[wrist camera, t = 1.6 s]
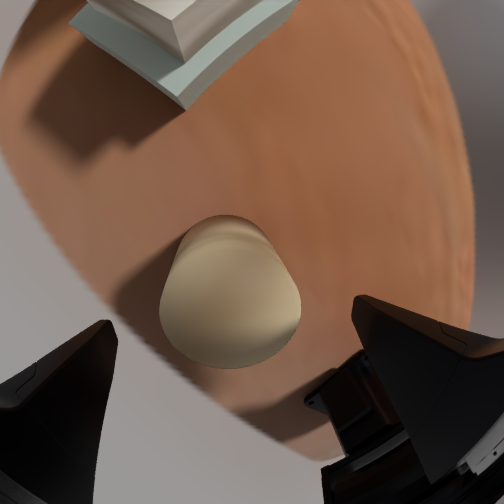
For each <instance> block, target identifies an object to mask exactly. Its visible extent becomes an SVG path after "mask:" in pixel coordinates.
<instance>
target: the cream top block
mask: <svg viewBox="0 0 504 504" xmlns="http://www.w3.org/2000/svg"><path fill="white" fill-rule="evenodd" d="M262 1H263V0H87V2H88V3H89V4H90V5H91V6H92V7H93V8H94V9H95V10H96V11H98V12H100V13H102V14H104V15H106V16H108V17H110V18H112V19H114V20H116V21H118V22H119V23H121V24H123V25H125V26H127V27H128V28H130V29H132V30H134V31H135V32H137V33H139V34H140V35H142V36H144V37H145V38H147V39H149V40H150V41H152V42H154V43H155V44H157V45H158V46H160V47H161V48H163V49H164V50H166V51H168V52H169V53H171V54H172V55H174V56H175V57H176V58H178V59H179V60H181V61H182V62H184V63H186V62H187V61H188V60H190V59H191V58H192V57H193V56H194V55H195V54H196V53H197V52H198V51H199V50H200V49H201V48H203V47H204V46H205V45H206V44H207V43H208V42H209V41H210V40H212V39H213V38H214V37H215V36H216V35H218V34H219V33H220V32H221V31H222V30H224V29H225V28H226V27H227V26H229V25H230V24H231V23H232V22H234V21H235V20H236V19H238V18H239V17H240V16H242V15H243V14H244V13H246V12H247V11H249V10H250V9H251V8H253V7H254V6H256V5H257V4H259V3H260V2H262Z"/></svg>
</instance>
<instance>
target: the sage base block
mask: <svg viewBox="0 0 504 504" xmlns="http://www.w3.org/2000/svg"><path fill="white" fill-rule="evenodd" d="M298 2H299V0H263V1H262V2H260V3H259V4H257V5H256V6H254V7H253V8H251V9H250V10H249V11H247V12H246V13H244V14H243V15H242V16H240V17H239V18H238V19H236V20H235V21H234V22H232V23H231V24H230V25H229V26H227V27H226V28H225V29H224V30H222V31H221V32H220V33H219V34H218V35H216V36H215V37H214V38H213V39H212V40H210V41H209V42H208V43H207V44H206V45H205V46H204V47H203V48H201V49H200V50H199V51H198V52H197V53H196V54H195V55H194V56H193V57H192V58H191V59H190V60H188V61H187V62H186V63H184V62H182V61H181V60H179V59H178V58H176V57H175V56H174V55H172V54H171V53H169V52H168V51H166V50H164V49H163V48H161V47H160V46H158V45H157V44H155V43H154V42H152V41H150V40H149V39H147V38H145V37H144V36H142V35H140V34H139V33H137V32H135V31H134V30H132V29H130V28H128V27H127V26H125V25H123V24H121V23H119V22H118V21H116V20H114V19H112V18H110V17H108V16H106V15H104V14H102V13H100V12H98V11H96V10H95V9H94V8H93V7H92V6H91V5H90V4H89V3H87V4H86V5H85V6H84V7H83V8H82V9H81V10H80V11H79V12H78V13H77V14H76V15H75V16H74V17H73V18H72V19H71V21H70V22H69V23H68V24H70V25H71V26H72V27H74V28H75V29H76V30H77V31H79V32H80V33H81V34H82V35H84V36H85V37H86V38H87V39H88V40H90V41H91V42H92V43H93V44H95V45H96V46H98V47H99V48H101V49H102V50H104V51H105V52H107V53H108V54H110V55H111V56H113V57H114V58H116V59H117V60H119V61H120V62H122V63H123V64H125V65H126V66H127V67H129V68H130V69H132V70H133V71H135V72H136V73H137V74H139V75H140V76H141V77H143V78H144V79H146V80H147V81H148V82H150V83H151V84H152V85H154V86H155V87H156V88H158V89H159V90H160V91H162V92H163V93H164V94H166V95H167V96H168V97H170V98H171V99H172V100H173V101H175V102H176V103H177V104H179V105H180V106H181V107H182V108H184V109H185V110H187V109H188V108H189V107H190V106H191V105H192V104H193V103H194V102H195V101H196V100H197V99H198V98H199V97H200V96H201V95H202V94H203V93H204V92H205V91H206V90H207V89H208V88H209V87H210V86H211V85H212V84H213V83H214V82H215V81H216V80H217V79H218V78H219V77H220V76H221V75H222V74H223V73H224V72H226V71H227V70H228V69H229V68H230V67H231V66H232V65H233V64H234V63H236V62H237V61H238V60H239V59H240V58H241V57H242V56H244V55H245V54H246V53H247V52H248V51H250V50H251V49H252V48H253V47H254V46H256V45H257V44H258V43H259V42H261V41H262V40H263V39H264V38H266V37H267V36H268V35H270V34H271V33H272V32H274V31H275V30H276V29H278V28H279V27H280V26H282V25H283V24H284V23H286V21H287V19H288V18H289V16H290V14H291V13H292V11H293V10H294V8H295V7H296V5H297V3H298Z"/></svg>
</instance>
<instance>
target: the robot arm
mask: <svg viewBox="0 0 504 504" xmlns="http://www.w3.org/2000/svg"><path fill="white" fill-rule="evenodd" d="M351 318H352V322H353V324H354V326H355V329H356V331H357V333H358V336H359V338H360V341H361V343H362V346H363V348H364V350H363V351H362V352H361V353H360V354H358V355H357V356H356V357H355V358H354V359H353V360H352V361H351V362H349V363H348V364H347V365H346V366H345V367H344V368H342V369H341V370H340V371H339V372H338V373H336V374H335V375H334V376H333V377H332V378H330V379H329V380H328V381H327V382H325V383H324V384H323V385H322V386H320V387H319V388H318V389H316V390H315V391H314V392H313V393H311V394H310V395H309V396H307V397H306V398H305V399H304V403H305V406H307V407H309V408H312V409H315V410H317V411H320V412H322V413H325V414H328V416H329V418H330V421H331V423H332V426H333V428H334V430H335V433H336V435H337V438H338V440H339V442H340V445H341V447H342V450H343V452H344V454H345V458H343V459H341V460H340V461H337V462H336V463H334V464H332V465H327V466H325V467H323V468H321V474H322V488H323V497H324V504H504V338H502V339H497V338H491V337H488V336H485V335H481V334H477V333H474V332H470V331H467V330H464V329H460V328H457V327H454V326H451V325H448V324H445V323H443V322H440V321H439V322H438V321H437V320H434V319H431V318H429V317H426V316H423V315H420V314H418V313H415V312H412V311H409V310H406V309H404V308H401V307H398V306H395V305H393V304H390V303H387V302H384V301H382V300H379V299H376V298H373V297H371V296H368V295H358V296H356V297H355V298H354V301H353V307H352V314H351ZM117 346H118V338H117V335H116V333H115V330H114V327H113V324H112V322H111V321H110V320H99V321H98V322H96V323H94V324H93V325H91V326H90V327H88V328H87V329H85V330H84V331H82V332H80V333H79V334H77V335H76V336H74V337H73V338H71V339H70V340H68V341H67V342H65V343H64V344H62V345H61V346H59V347H58V348H56V349H55V350H53V351H52V352H50V353H48V354H47V355H45V356H44V357H42V358H41V359H40V360H38V361H37V362H35V363H33V364H32V365H31V366H29V367H28V368H26V369H24V370H23V371H21V372H20V373H18V374H16V375H15V376H13V377H12V378H10V379H8V380H6V381H5V382H3V383H1V384H0V504H93V492H94V481H95V476H94V475H95V471H96V463H97V456H98V449H99V443H100V437H101V431H102V425H103V420H104V415H105V410H106V405H107V401H108V397H109V392H110V388H111V384H112V379H113V374H114V367H115V360H116V353H117Z"/></svg>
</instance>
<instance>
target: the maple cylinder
mask: <svg viewBox="0 0 504 504" xmlns="http://www.w3.org/2000/svg"><path fill="white" fill-rule="evenodd" d="M300 314H301V301H300V295H299V292H298V289H297V287H296V285H295V283H294V281H293V279H292V278H291V276H290V274H289V273H288V271H287V269H286V268H285V266H284V264H283V263H282V261H281V259H280V258H279V256H278V254H277V253H276V251H275V249H274V248H273V246H272V244H271V243H270V241H269V239H268V238H267V236H266V235H265V234H264V232H263V231H262V230H261V229H260V228H259V227H258V226H257V225H255V224H254V223H252V222H251V221H249V220H247V219H244V218H242V217H238V216H233V215H218V216H213V217H210V218H207V219H204V220H202V221H200V222H199V223H197V224H196V225H194V226H193V227H192V228H191V229H190V230H189V231H188V232H187V233H186V234H185V236H184V237H183V239H182V241H181V243H180V245H179V247H178V250H177V253H176V256H175V258H174V261H173V264H172V267H171V269H170V272H169V275H168V278H167V281H166V284H165V287H164V290H163V293H162V296H161V299H160V306H159V316H160V322H161V326H162V328H163V331H164V333H165V335H166V337H167V338H168V340H169V341H170V343H171V344H172V345H173V346H174V347H175V348H176V349H177V350H178V351H179V352H180V353H181V354H183V355H184V356H186V357H187V358H189V359H190V360H192V361H195V362H197V363H199V364H202V365H205V366H209V367H213V368H220V369H236V368H243V367H248V366H252V365H255V364H257V363H260V362H262V361H264V360H266V359H268V358H270V357H272V356H273V355H275V354H276V353H277V352H278V351H280V350H281V349H282V348H283V347H284V346H285V345H286V344H287V343H288V341H289V340H290V339H291V337H292V336H293V334H294V333H295V331H296V328H297V326H298V323H299V320H300Z"/></svg>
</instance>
